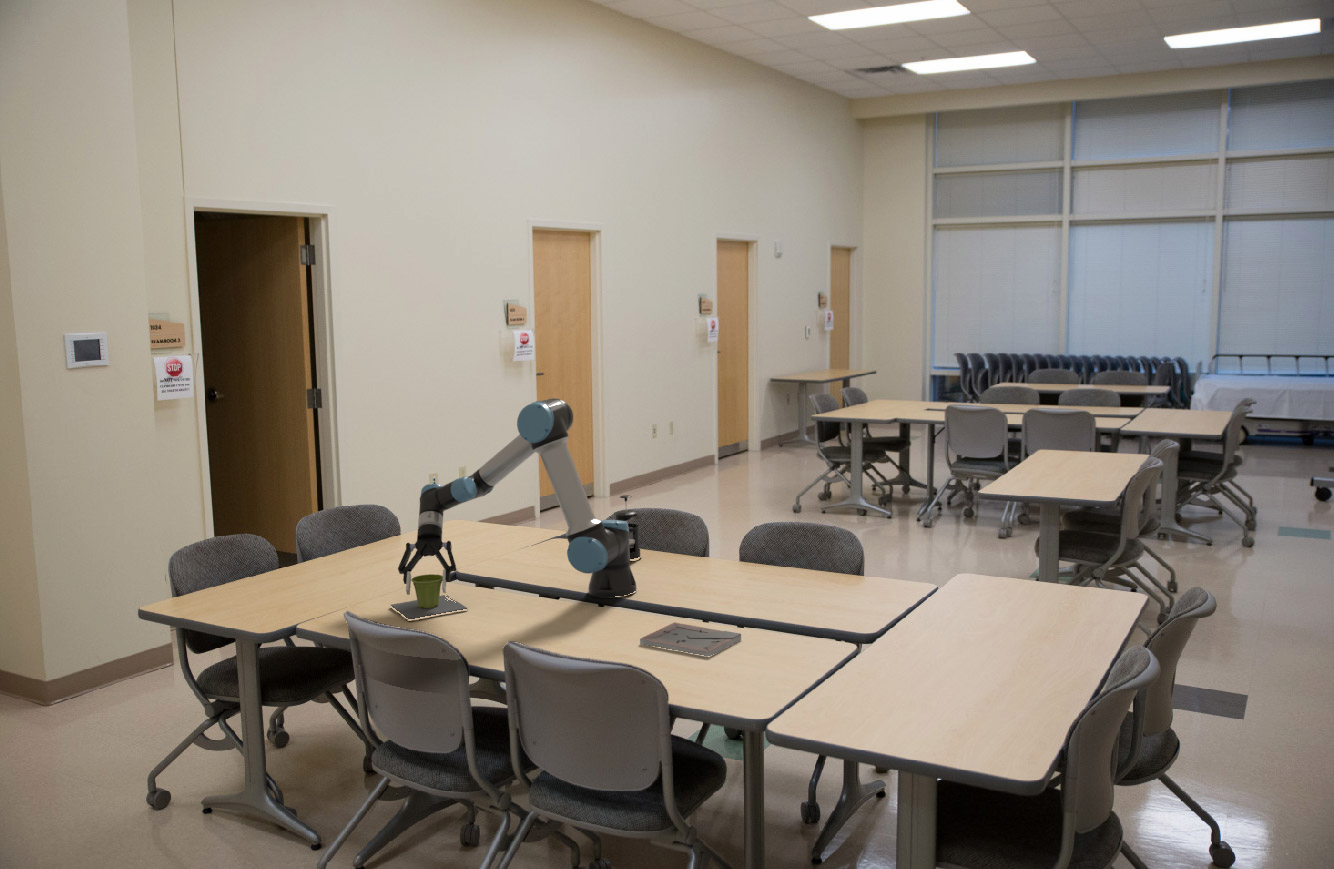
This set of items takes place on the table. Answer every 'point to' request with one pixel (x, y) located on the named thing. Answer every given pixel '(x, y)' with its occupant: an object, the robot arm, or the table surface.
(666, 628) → the picture frame
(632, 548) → the french press
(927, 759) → the table surface
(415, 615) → the charcoal mat
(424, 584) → the plant pot
